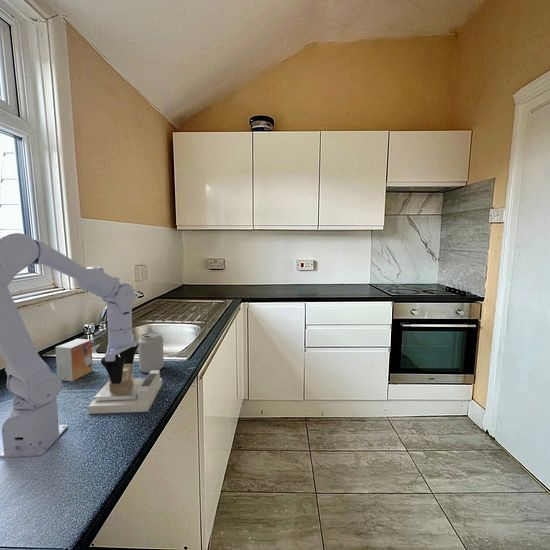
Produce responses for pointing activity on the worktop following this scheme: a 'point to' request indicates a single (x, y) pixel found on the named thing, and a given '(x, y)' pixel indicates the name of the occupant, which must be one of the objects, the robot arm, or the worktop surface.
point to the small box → (74, 359)
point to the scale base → (139, 404)
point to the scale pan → (119, 392)
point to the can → (150, 352)
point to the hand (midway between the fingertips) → (122, 376)
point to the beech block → (123, 379)
